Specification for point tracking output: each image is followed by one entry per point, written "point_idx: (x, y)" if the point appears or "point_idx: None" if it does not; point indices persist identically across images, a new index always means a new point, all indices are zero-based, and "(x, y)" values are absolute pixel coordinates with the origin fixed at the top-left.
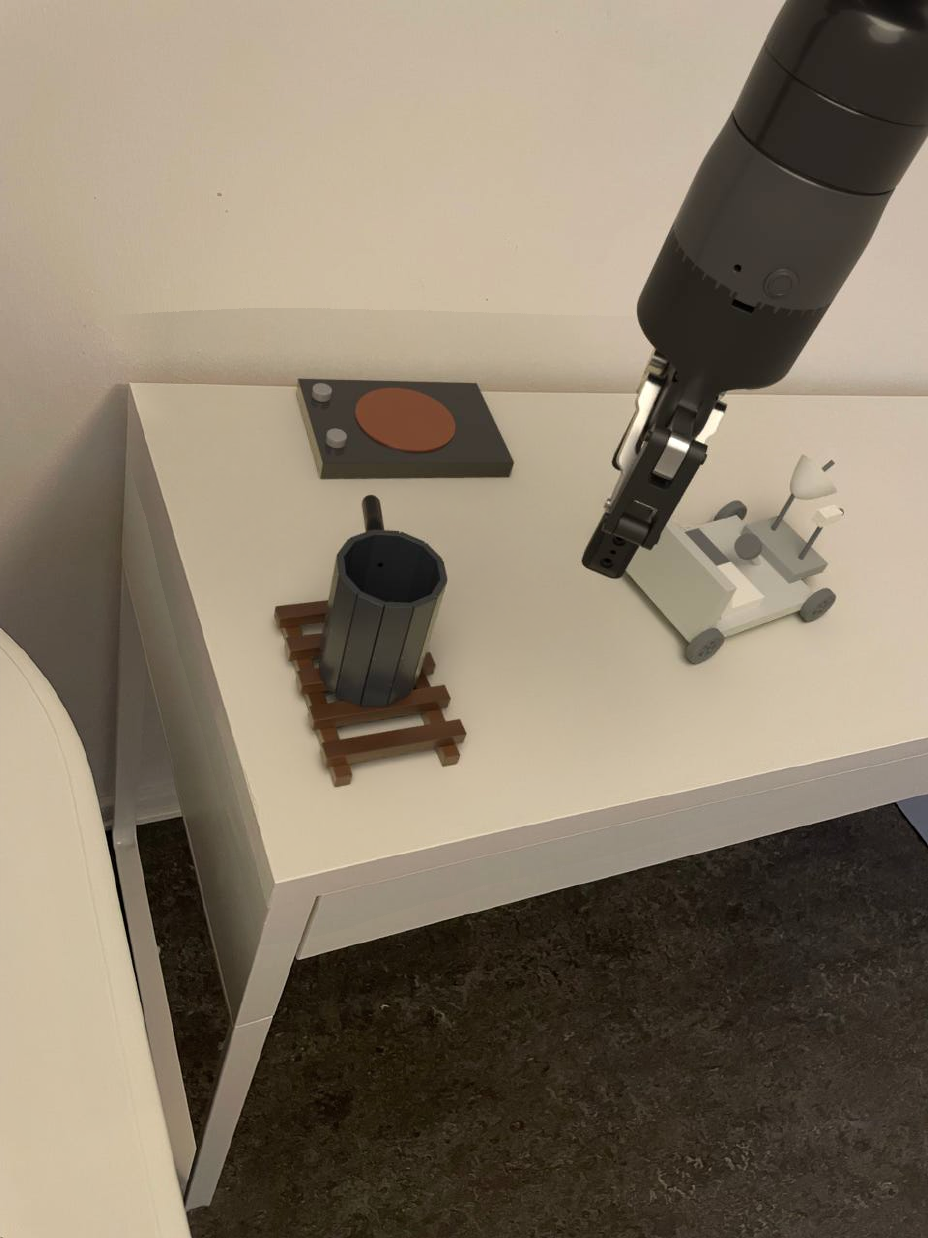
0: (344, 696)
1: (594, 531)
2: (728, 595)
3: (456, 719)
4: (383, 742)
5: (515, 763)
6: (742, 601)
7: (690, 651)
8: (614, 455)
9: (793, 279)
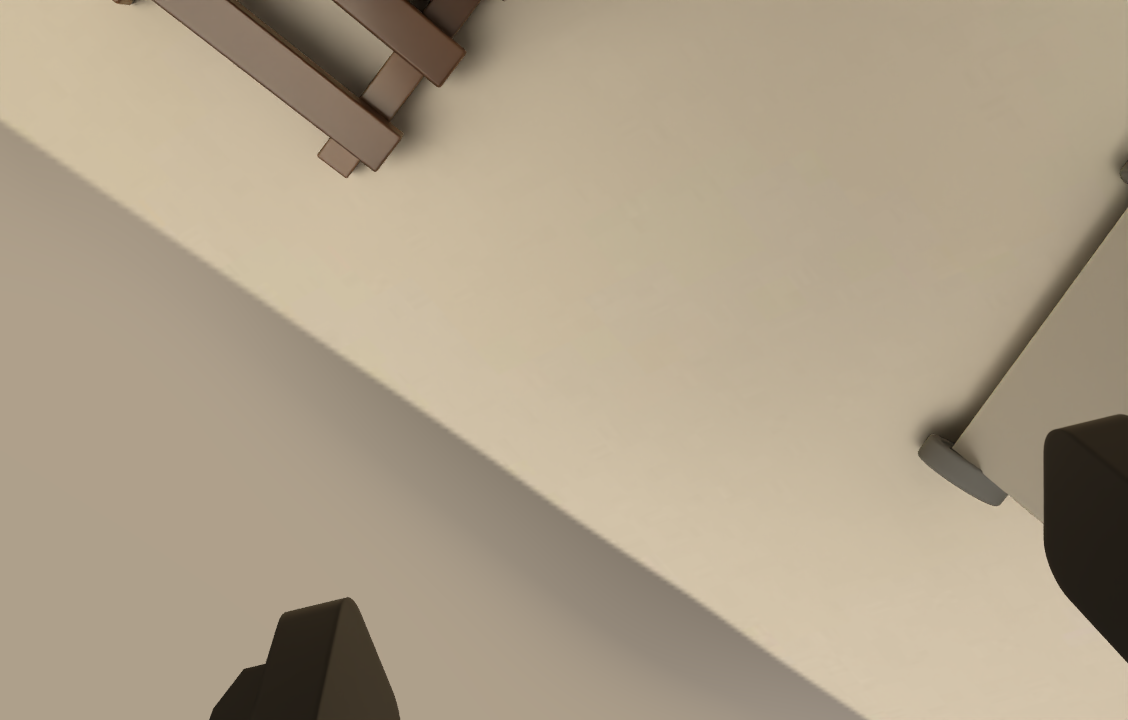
0: None
1: (318, 705)
2: None
3: (393, 131)
4: (210, 22)
5: (440, 272)
6: None
7: (930, 452)
8: (1090, 448)
9: None
